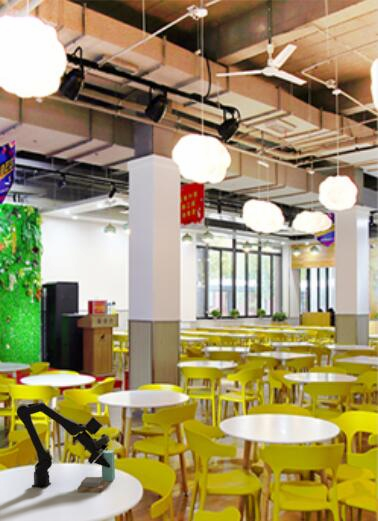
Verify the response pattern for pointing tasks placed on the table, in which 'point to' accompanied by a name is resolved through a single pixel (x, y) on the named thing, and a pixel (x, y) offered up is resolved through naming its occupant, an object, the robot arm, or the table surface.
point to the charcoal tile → (92, 482)
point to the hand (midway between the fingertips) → (111, 465)
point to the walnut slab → (93, 488)
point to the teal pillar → (110, 472)
